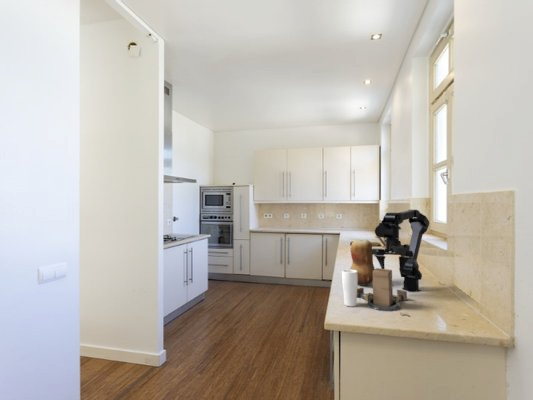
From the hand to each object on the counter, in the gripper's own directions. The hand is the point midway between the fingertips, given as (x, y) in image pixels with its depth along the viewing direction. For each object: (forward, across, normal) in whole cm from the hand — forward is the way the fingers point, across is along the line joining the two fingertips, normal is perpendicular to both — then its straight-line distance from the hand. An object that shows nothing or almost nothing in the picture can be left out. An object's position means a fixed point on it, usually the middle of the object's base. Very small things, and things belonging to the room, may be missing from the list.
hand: (392, 271), depth 144 cm
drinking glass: (+15, -24, -7) cm, 29 cm away
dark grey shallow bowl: (+14, -10, -10) cm, 20 cm away
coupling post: (+14, -10, -10) cm, 20 cm away
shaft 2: (+13, 0, -6) cm, 14 cm away
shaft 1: (+13, -14, 0) cm, 19 cm away
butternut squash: (+11, -3, +24) cm, 26 cm away
